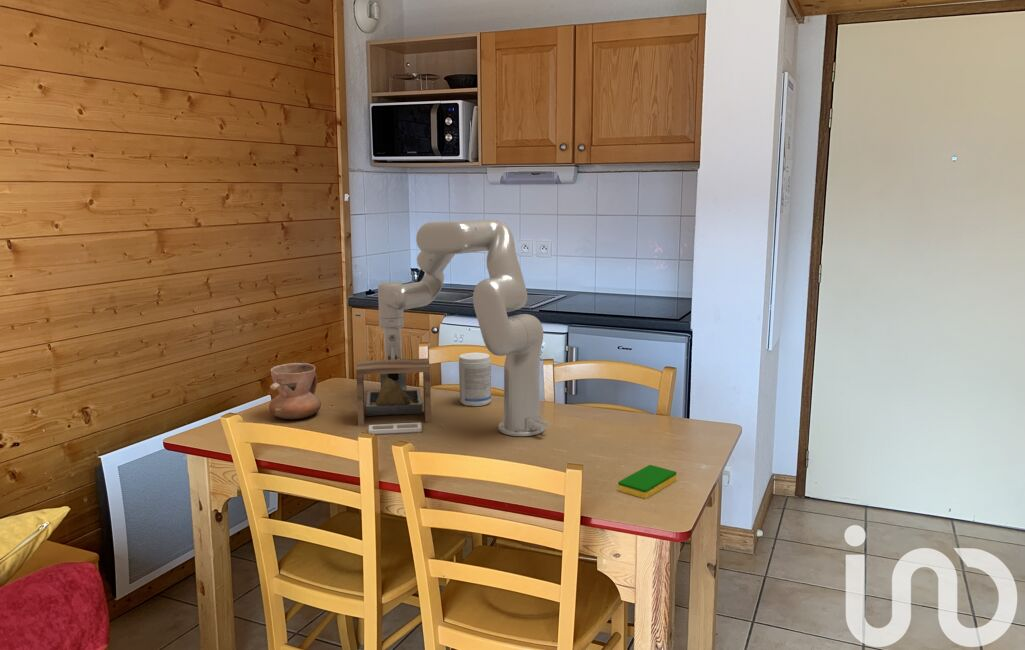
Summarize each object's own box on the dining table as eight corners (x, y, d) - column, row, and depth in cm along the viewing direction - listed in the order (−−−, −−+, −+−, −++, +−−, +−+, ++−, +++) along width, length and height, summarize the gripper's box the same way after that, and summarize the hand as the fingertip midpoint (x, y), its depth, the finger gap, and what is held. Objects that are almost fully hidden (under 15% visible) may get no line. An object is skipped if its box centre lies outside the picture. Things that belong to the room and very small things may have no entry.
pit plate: (421, 432, 209) (421, 428, 209) (368, 435, 207) (368, 430, 207) (420, 426, 214) (420, 422, 214) (369, 429, 212) (369, 425, 212)
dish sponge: (676, 481, 177) (677, 471, 176) (645, 500, 166) (645, 490, 166) (649, 474, 181) (649, 464, 181) (617, 492, 171) (617, 481, 171)
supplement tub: (497, 402, 237) (497, 355, 234) (474, 409, 230) (474, 360, 228) (476, 396, 244) (475, 350, 241) (453, 402, 237) (452, 355, 234)
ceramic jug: (294, 427, 214) (291, 377, 211) (255, 420, 220) (252, 371, 217) (337, 410, 229) (335, 363, 227) (299, 403, 236) (297, 358, 233)
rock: (422, 401, 230) (395, 392, 234) (413, 383, 224) (386, 375, 228) (402, 430, 224) (375, 420, 229) (392, 412, 218) (365, 403, 222)
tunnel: (431, 422, 218) (429, 366, 215) (358, 425, 215) (356, 369, 212) (429, 411, 228) (428, 358, 225) (359, 415, 225) (357, 361, 222)
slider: (422, 413, 225) (421, 382, 224) (366, 415, 223) (365, 384, 221) (418, 390, 249) (418, 362, 248) (368, 392, 247) (367, 364, 245)
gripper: (404, 326, 233) (406, 385, 237) (403, 317, 248) (404, 373, 251) (379, 327, 232) (381, 386, 235) (379, 318, 246) (381, 374, 250)
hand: (393, 379), depth 243 cm, fingers closed
